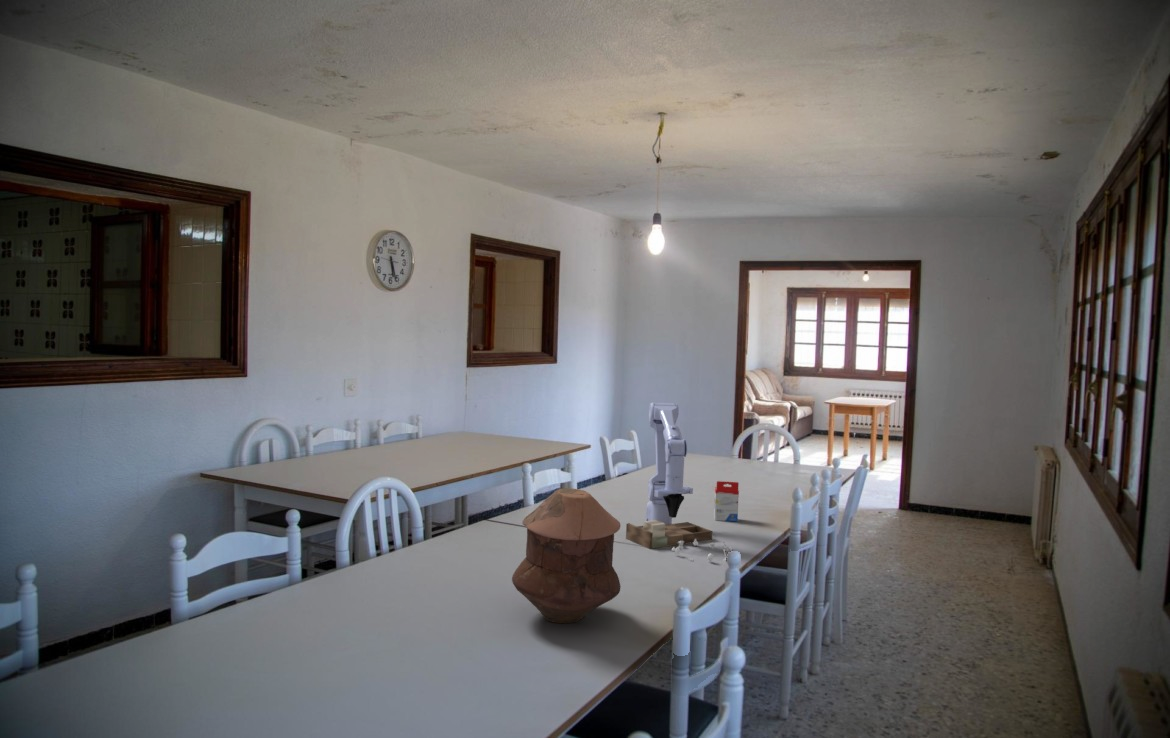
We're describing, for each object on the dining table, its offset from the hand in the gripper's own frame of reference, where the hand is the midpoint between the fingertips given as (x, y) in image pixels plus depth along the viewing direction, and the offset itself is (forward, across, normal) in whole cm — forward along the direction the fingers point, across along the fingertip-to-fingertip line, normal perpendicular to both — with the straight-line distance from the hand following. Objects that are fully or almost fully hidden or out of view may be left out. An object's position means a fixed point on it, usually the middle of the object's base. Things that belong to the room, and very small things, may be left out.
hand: (672, 516), depth 251 cm
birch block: (+5, -8, 0) cm, 9 cm away
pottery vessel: (+8, -65, -42) cm, 78 cm away
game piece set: (+9, 0, -15) cm, 18 cm away
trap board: (+8, +1, +3) cm, 9 cm away
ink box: (+9, +38, +16) cm, 42 cm away
